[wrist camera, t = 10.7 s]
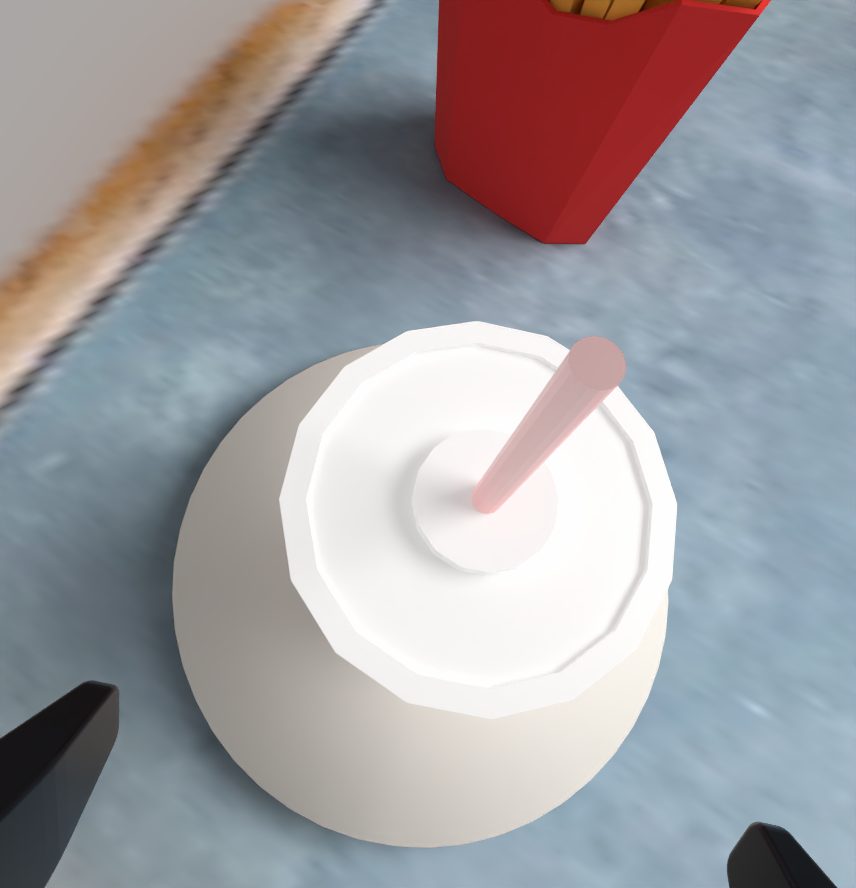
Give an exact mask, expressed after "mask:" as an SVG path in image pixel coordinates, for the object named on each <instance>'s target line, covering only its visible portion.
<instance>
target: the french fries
mask: <svg viewBox="0 0 856 888" xmlns="http://www.w3.org/2000/svg"><path fill="white" fill-rule="evenodd" d="M770 1H771V0H439V21H438V53H437V84H436V115H435V148H436V151H437V154H438V157H439V160H440V162H441V165H442V168H443V171H444V174H445V177H446V179H447V180H449V181H450V182H451V183H453V184H454V185H455V186H457V187H458V188H460V189H461V190H462V191H464V192H465V193H466V194H468V195H469V196H471V197H472V198H474V199H475V200H477V201H478V202H479V203H481V204H482V205H484V206H485V207H487V208H488V209H490V210H491V211H493V212H494V213H496V214H497V215H499V216H500V217H502V218H504V219H505V220H507V221H508V222H510V223H511V224H513V225H515V226H516V227H518V228H519V229H521V230H523V231H524V232H526V233H528V234H529V235H531V236H533V237H534V238H536V239H538V240H539V241H541V242H543V243H567V244H586V242H587V241H588V240H589V238H590V237H591V236H592V234H593V233H594V232H595V231H596V229H597V228H598V227H599V225H600V224H601V223H602V221H603V220H604V219H605V217H606V216H607V215H608V214H609V212H610V211H611V210H612V208H613V207H614V206H615V204H616V203H617V202H618V200H619V199H620V198H621V196H622V195H623V194H624V193H625V191H626V190H627V189H628V187H629V186H630V185H631V183H632V182H633V181H634V179H635V178H636V177H637V175H638V174H639V173H640V172H641V170H642V169H643V168H644V166H645V165H646V164H647V162H648V161H649V160H650V158H651V157H652V156H653V154H654V153H655V152H656V151H657V149H658V148H659V147H660V145H661V144H662V143H663V141H664V140H665V139H666V137H667V136H668V135H669V133H670V132H671V131H672V130H673V128H674V127H675V126H676V124H677V123H678V122H679V120H680V119H681V118H682V116H683V115H684V114H685V112H686V111H687V110H688V109H689V107H690V106H691V105H692V103H693V102H694V101H695V99H696V98H697V97H698V95H699V94H700V93H701V92H702V90H703V89H704V88H705V86H706V85H707V84H708V82H709V81H710V80H711V78H712V77H713V76H714V74H715V73H716V72H717V71H718V69H719V68H720V67H721V65H722V64H723V63H724V61H725V60H726V59H727V57H728V56H729V55H730V53H731V52H732V51H733V50H734V48H735V47H736V46H737V44H738V43H739V42H740V40H741V39H742V38H743V36H744V35H745V34H746V32H747V31H748V30H749V29H750V27H751V26H752V25H753V23H754V22H755V21H756V19H757V18H758V17H759V15H760V14H761V13H762V11H763V10H764V9H765V7H766V6H767V5H768V4H769V2H770Z"/></svg>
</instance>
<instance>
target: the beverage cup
mask: <svg viewBox="0 0 856 888" xmlns="http://www.w3.org/2000/svg"><path fill="white" fill-rule="evenodd" d="M625 372H626V362H625V358H624V355H623V353H622V352H621V350H620V349H619V348H618V347H617V345H616V344H614V343H612V342H611V341H609V340H608V339H606V338H602V337H597V336H591V337H585V338H583V339H581V340H579V341H578V342H576V343H575V344H574V345H573V347H572V348H571V350H568V349H567V348H565V347H564V346H562V345H560V344H559V343H557V342H556V341H554V340H552V339H551V338H549V337H548V336H544V335H539V334H535V333H530V332H525V331H521V330H516V329H511V328H507V327H502V326H498V325H493V324H488V323H484V322H479V321H474V322H467V323H460V324H454V325H447V326H440V327H433V328H426V329H419V330H412V331H406V332H405V333H403V334H401V335H399V336H398V337H396V338H394V339H392V340H390V341H389V342H387V343H385V344H383V345H382V346H380V347H378V348H376V349H375V350H373V351H371V352H369V353H368V354H366V355H364V356H362V357H360V358H359V359H357V360H355V361H353V362H352V363H350V364H348V365H346V366H345V367H344V368H343V369H342V370H341V372H340V373H339V374H338V376H337V377H336V378H335V379H334V381H333V382H332V383H331V384H330V386H329V387H328V388H327V390H326V391H325V392H324V393H323V395H322V396H321V397H320V399H319V400H318V401H317V402H316V404H315V405H314V406H313V407H312V409H311V410H310V411H309V413H308V414H307V415H306V416H305V418H304V419H303V420H302V422H301V423H300V424H299V427H298V430H297V434H296V438H295V442H294V445H293V449H292V453H291V457H290V460H289V464H288V468H287V472H286V475H285V479H284V483H283V486H282V490H281V494H280V498H279V502H280V509H281V516H282V523H283V530H284V537H285V543H286V550H287V557H288V564H289V571H290V578H291V581H292V583H293V584H294V586H295V588H296V589H297V591H298V592H299V594H300V596H301V597H302V599H303V601H304V602H305V604H306V605H307V607H308V609H309V610H310V612H311V614H312V615H313V617H314V618H315V620H316V622H317V623H318V625H319V627H320V628H321V630H322V632H323V633H324V635H325V636H326V638H327V640H328V641H329V643H330V645H331V646H332V648H333V649H334V651H335V653H337V654H338V655H340V656H341V657H342V658H344V659H345V660H347V661H348V662H350V663H351V664H352V665H354V666H355V667H357V668H358V669H360V670H361V671H362V672H364V673H365V674H367V675H368V676H370V677H371V678H372V679H374V680H375V681H377V682H378V683H379V684H381V685H382V686H384V687H385V688H387V689H388V690H389V691H391V692H392V693H394V694H395V695H397V696H398V697H399V698H401V699H402V700H404V701H405V702H407V703H411V704H416V705H421V706H426V707H431V708H436V709H441V710H447V711H452V712H457V713H462V714H467V715H472V716H477V717H482V718H487V719H495V718H500V717H504V716H508V715H512V714H516V713H520V712H525V711H529V710H533V709H537V708H541V707H545V706H550V705H554V704H558V703H562V702H566V701H570V700H574V699H575V698H576V697H577V696H579V695H580V694H581V693H582V692H584V691H585V690H586V689H588V688H589V687H590V686H591V685H593V684H594V683H595V682H596V681H598V680H599V679H600V678H601V677H603V676H604V675H605V674H606V673H608V672H609V671H610V670H611V669H613V668H614V667H615V666H616V665H618V664H619V663H620V662H622V661H623V660H624V659H625V658H627V657H628V656H629V655H630V654H632V653H633V652H634V651H635V650H637V648H638V646H639V644H640V642H641V640H642V638H643V636H644V634H645V632H646V630H647V628H648V626H649V624H650V622H651V620H652V618H653V616H654V614H655V612H656V610H657V608H658V606H659V605H660V603H661V601H662V599H663V597H664V595H665V593H666V591H667V589H668V587H669V585H670V583H671V581H672V573H673V558H674V543H675V528H676V513H677V502H676V499H675V496H674V493H673V490H672V486H671V483H670V480H669V477H668V474H667V471H666V468H665V465H664V462H663V458H662V455H661V452H660V449H659V446H658V443H657V440H656V437H655V433H654V432H653V430H652V429H651V428H650V427H649V425H648V424H647V423H646V422H645V420H644V419H643V418H642V416H641V415H640V414H639V413H638V411H637V410H636V409H635V408H634V406H633V405H632V404H631V402H630V401H629V400H628V399H627V397H626V396H625V395H624V394H623V392H622V391H621V390H620V388H619V387H618V385H619V384H620V382H621V381H622V379H623V377H624V376H625Z"/></svg>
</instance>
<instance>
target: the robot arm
mask: <svg viewBox="0 0 856 888" xmlns="http://www.w3.org/2000/svg"><path fill="white" fill-rule="evenodd" d="M118 729H119V690H118V688H117V687H116V686H115V685H112V684H107V683H102V682H97V681H87V682H84V683H82V684H80V685H79V686H77V687H76V688H74V689H73V690H71V691H70V692H69V693H67V694H66V695H64V696H63V697H61V698H60V699H58V700H57V701H55V702H54V703H52V704H51V705H49V706H48V707H46V708H45V709H43V710H42V711H40V712H39V713H37V714H36V715H34V716H33V717H31V718H30V719H28V720H27V721H25V722H24V723H23V724H21V725H20V726H18V727H17V728H15V729H14V730H12V731H11V732H9V733H8V734H6V735H5V736H3V737H2V738H0V888H44V887H45V886H46V884H47V882H48V881H49V879H50V877H51V875H52V873H53V872H54V870H55V868H56V866H57V864H58V863H59V861H60V859H61V857H62V855H63V853H64V851H65V849H66V847H67V844H68V842H69V840H70V838H71V836H72V834H73V832H74V830H75V827H76V825H77V823H78V821H79V819H80V817H81V814H82V812H83V810H84V808H85V806H86V804H87V801H88V799H89V797H90V795H91V793H92V791H93V789H94V786H95V784H96V782H97V780H98V778H99V776H100V773H101V771H102V769H103V767H104V765H105V763H106V760H107V758H108V756H109V754H110V752H111V750H112V747H113V745H114V743H115V740H116V737H117V734H118ZM727 875H728V882H729V888H837V887H836V886H835V885H834V883H833V882H832V881H831V880H830V879H829V878H828V876H827V875H826V874H825V873H824V872H823V871H822V870H821V868H820V867H819V866H818V865H817V864H816V863H815V862H814V860H813V859H812V858H811V857H810V856H809V855H808V853H807V852H806V851H805V850H804V849H803V848H802V847H801V845H800V844H799V843H798V842H797V841H796V840H795V838H794V837H793V836H792V835H791V834H790V833H789V832H788V831H787V830H785V829H784V828H782V827H779V826H776V825H771V824H767V823H762V822H754V823H752V824H751V825H750V826H749V827H748V828H747V830H746V831H745V832H744V834H743V835H742V837H741V838H740V840H739V841H738V843H737V844H736V846H735V847H734V848H733V850H732V851H731V853H730V855H729V858H728V863H727Z"/></svg>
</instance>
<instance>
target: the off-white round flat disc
mask: <svg viewBox="0 0 856 888" xmlns="http://www.w3.org/2000/svg"><path fill="white" fill-rule="evenodd" d="M380 346H382V345H375V346H370V347H366V348H362V349H358V350H354V351H350V352H347V353H343V354H340V355H338V356H335V357H333V358H330V359H328V360H325V361H323V362H320V363H317V364H315V365H313V366H311V367H310V368H308V369H306V370H304V371H302V372H300V373H299V374H297V375H295V376H293V377H291V378H289V379H288V380H286V381H285V382H284V383H282V384H281V385H279V386H278V387H277V388H275V389H274V390H273V391H271V392H270V393H268V394H267V395H266V396H264V397H263V398H262V399H261V400H260V401H259V402H258V403H257V404H256V405H254V406H253V407H252V408H251V409H250V410H249V411H248V412H247V413H246V414H245V415H244V416H243V417H242V418H241V419H240V420H239V421H238V422H237V424H236V425H235V426H234V427H233V428H232V429H231V431H230V432H229V433H228V434H227V435H226V437H225V438H224V439H223V440H222V441H221V443H220V444H219V446H218V448H217V449H216V451H215V452H214V454H213V455H212V457H211V458H210V460H209V462H208V463H207V465H206V466H205V468H204V470H203V472H202V474H201V476H200V478H199V480H198V482H197V485H196V487H195V489H194V491H193V493H192V495H191V497H190V500H189V503H188V506H187V509H186V512H185V515H184V518H183V522H182V525H181V528H180V532H179V537H178V543H177V548H176V554H175V559H174V570H173V589H172V601H173V613H174V625H175V634H176V638H177V643H178V647H179V652H180V656H181V661H182V665H183V668H184V671H185V673H186V676H187V679H188V681H189V684H190V687H191V690H192V692H193V695H194V698H195V700H196V702H197V704H198V706H199V707H200V709H201V711H202V713H203V715H204V717H205V719H206V720H207V722H208V724H209V726H210V728H211V730H212V731H213V733H214V734H215V735H216V737H217V738H218V740H219V741H220V742H221V744H222V745H223V746H224V748H225V749H226V750H227V752H228V753H229V754H230V756H231V757H232V758H233V760H234V761H235V762H236V763H237V764H238V765H239V766H240V767H241V768H242V769H243V770H244V771H245V772H246V773H247V774H248V775H249V776H250V777H251V778H252V779H253V780H254V781H255V782H256V783H257V784H258V785H259V786H260V787H261V788H262V789H264V790H265V791H266V792H268V793H269V794H270V795H272V796H273V797H274V798H276V799H277V800H278V801H280V802H281V803H282V804H284V805H285V806H286V807H288V808H289V809H291V810H293V811H294V812H296V813H298V814H300V815H302V816H304V817H306V818H307V819H309V820H311V821H313V822H315V823H317V824H318V825H320V826H322V827H325V828H328V829H331V830H333V831H336V832H339V833H342V834H344V835H347V836H350V837H353V838H355V839H360V840H364V841H369V842H374V843H379V844H384V845H389V846H401V847H421V848H432V847H442V846H452V845H462V844H468V843H471V842H475V841H479V840H483V839H487V838H491V837H495V836H499V835H502V834H504V833H506V832H509V831H511V830H513V829H516V828H518V827H521V826H523V825H525V824H528V823H530V822H532V821H534V820H536V819H537V818H539V817H541V816H542V815H544V814H546V813H547V812H549V811H551V810H552V809H554V808H556V807H557V806H559V805H561V804H562V803H564V802H565V801H566V800H567V799H568V798H570V797H571V796H572V795H573V794H575V793H576V792H577V791H578V790H579V789H581V788H582V787H583V786H584V785H586V784H587V783H588V782H589V781H590V780H591V779H592V778H593V777H594V776H595V775H596V774H597V773H598V772H599V770H600V769H601V768H602V767H603V766H604V765H605V764H606V763H607V762H608V761H609V760H610V758H611V757H612V756H613V755H614V754H615V752H616V751H617V749H618V748H619V746H620V745H621V743H622V742H623V741H624V739H625V738H626V736H627V735H628V733H629V732H630V730H631V729H632V728H633V726H634V724H635V722H636V720H637V718H638V716H639V714H640V712H641V710H642V708H643V706H644V704H645V702H646V700H647V698H648V696H649V693H650V690H651V687H652V684H653V681H654V678H655V676H656V673H657V670H658V667H659V663H660V658H661V654H662V649H663V644H664V639H665V634H666V623H667V611H668V589H667V591H666V593H665V595H664V597H663V599H662V601H661V603H660V605H659V606H658V608H657V610H656V612H655V614H654V616H653V618H652V620H651V622H650V624H649V626H648V628H647V630H646V632H645V634H644V636H643V638H642V640H641V642H640V644H639V646H638V648H637V650H635V651H634V652H633V653H632V654H630V655H629V656H628V657H627V658H625V659H624V660H623V661H622V662H620V663H619V664H618V665H616V666H615V667H614V668H613V669H611V670H610V671H609V672H608V673H606V674H605V675H604V676H603V677H601V678H600V679H599V680H598V681H596V682H595V683H594V684H593V685H591V686H590V687H589V688H588V689H586V690H585V691H584V692H582V693H581V694H580V695H579V696H577V697H576V698H575V699H574V700H570V701H566V702H562V703H558V704H554V705H550V706H545V707H541V708H537V709H533V710H529V711H525V712H520V713H516V714H512V715H508V716H504V717H500V718H495V719H487V718H482V717H477V716H472V715H467V714H462V713H457V712H452V711H447V710H441V709H436V708H431V707H426V706H421V705H416V704H411V703H407V702H405V701H404V700H402V699H401V698H399V697H398V696H397V695H395V694H394V693H392V692H391V691H389V690H388V689H387V688H385V687H384V686H382V685H381V684H379V683H378V682H377V681H375V680H374V679H372V678H371V677H370V676H368V675H367V674H365V673H364V672H362V671H361V670H360V669H358V668H357V667H355V666H354V665H352V664H351V663H350V662H348V661H347V660H345V659H344V658H342V657H341V656H340V655H338V654H337V653H335V651H334V649H333V648H332V646H331V645H330V643H329V641H328V640H327V638H326V636H325V635H324V633H323V632H322V630H321V628H320V627H319V625H318V623H317V622H316V620H315V618H314V617H313V615H312V614H311V612H310V610H309V609H308V607H307V605H306V604H305V602H304V601H303V599H302V597H301V596H300V594H299V592H298V591H297V589H296V588H295V586H294V584H293V583H292V581H291V578H290V571H289V564H288V557H287V550H286V543H285V537H284V530H283V523H282V516H281V509H280V502H279V498H280V494H281V490H282V486H283V483H284V479H285V475H286V472H287V468H288V464H289V460H290V457H291V453H292V449H293V445H294V442H295V438H296V434H297V430H298V427H299V424H300V423H301V422H302V420H303V419H304V418H305V416H306V415H307V414H308V413H309V411H310V410H311V409H312V407H313V406H314V405H315V404H316V402H317V401H318V400H319V399H320V397H321V396H322V395H323V393H324V392H325V391H326V390H327V388H328V387H329V386H330V384H331V383H332V382H333V381H334V379H335V378H336V377H337V376H338V374H339V373H340V372H341V370H342V369H343V368H344V367H345V366H346V365H348V364H350V363H352V362H353V361H355V360H357V359H359V358H360V357H362V356H364V355H366V354H368V353H369V352H371V351H373V350H375V349H376V348H378V347H380Z"/></svg>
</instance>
